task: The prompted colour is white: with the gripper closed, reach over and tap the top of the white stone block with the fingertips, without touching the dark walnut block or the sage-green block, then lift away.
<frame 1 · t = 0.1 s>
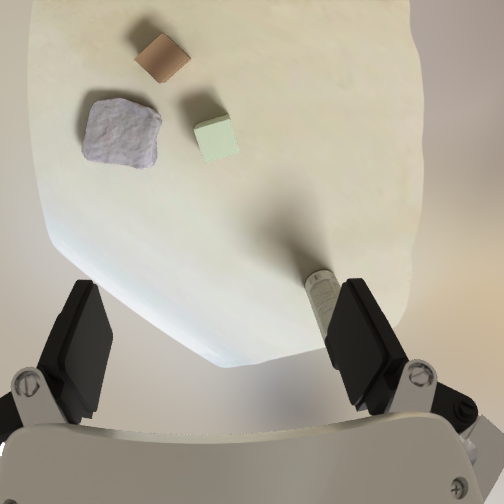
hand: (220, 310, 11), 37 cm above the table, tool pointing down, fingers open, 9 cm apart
sage block: (217, 134, 42), on the table
stone block: (125, 128, 40), on the table
walnut block: (166, 59, 35), on the table
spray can: (319, 281, 61), on the table
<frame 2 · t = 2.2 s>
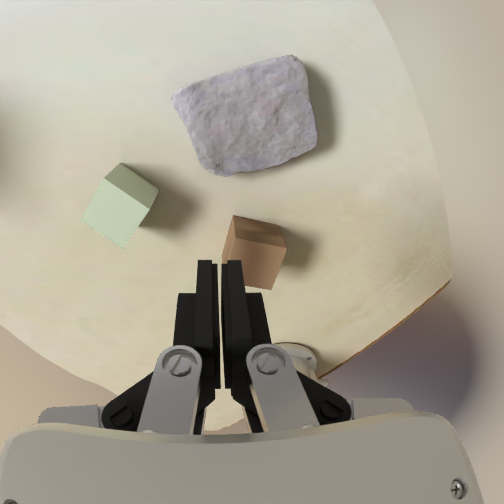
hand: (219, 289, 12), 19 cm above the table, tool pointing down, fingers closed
sage block: (127, 194, 29), on the table
stone block: (249, 117, 27), on the table
walnut block: (249, 240, 33), on the table
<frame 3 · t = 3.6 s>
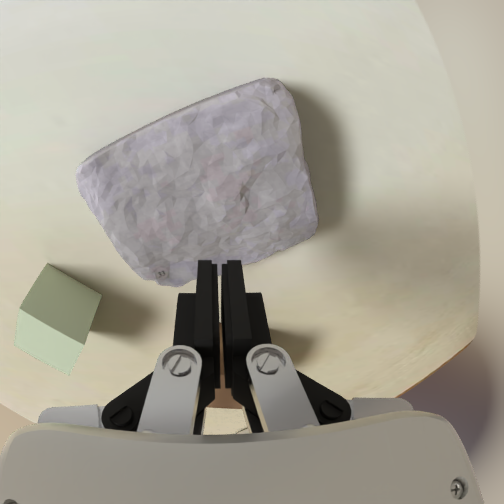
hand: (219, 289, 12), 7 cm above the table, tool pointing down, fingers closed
sage block: (66, 298, 21), on the table
stone block: (207, 184, 18), on the table
walnut block: (228, 343, 25), on the table
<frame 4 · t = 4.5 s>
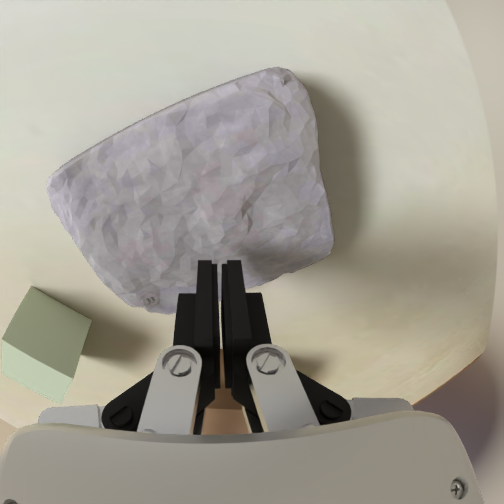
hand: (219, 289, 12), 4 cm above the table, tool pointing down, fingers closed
sage block: (54, 322, 18), on the table
stone block: (202, 194, 15), on the table
walnut block: (230, 368, 22), on the table
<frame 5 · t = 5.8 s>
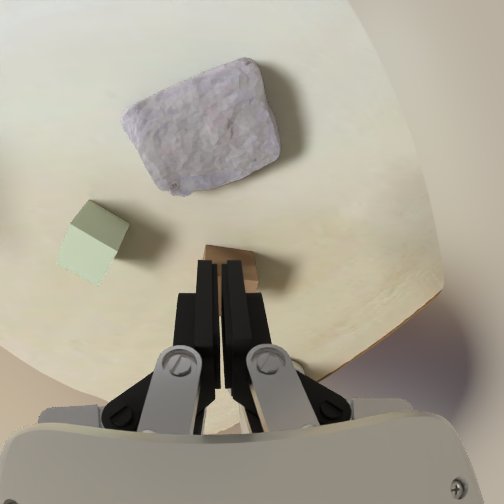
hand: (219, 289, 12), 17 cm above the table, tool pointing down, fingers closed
sage block: (100, 229, 28), on the table
stone block: (207, 128, 25), on the table
walnut block: (225, 266, 33), on the table
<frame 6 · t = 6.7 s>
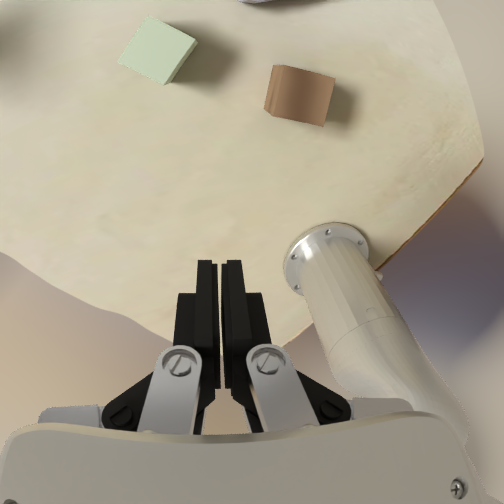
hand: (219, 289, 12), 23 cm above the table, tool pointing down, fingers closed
sage block: (163, 52, 24), on the table
walnut block: (291, 91, 29), on the table
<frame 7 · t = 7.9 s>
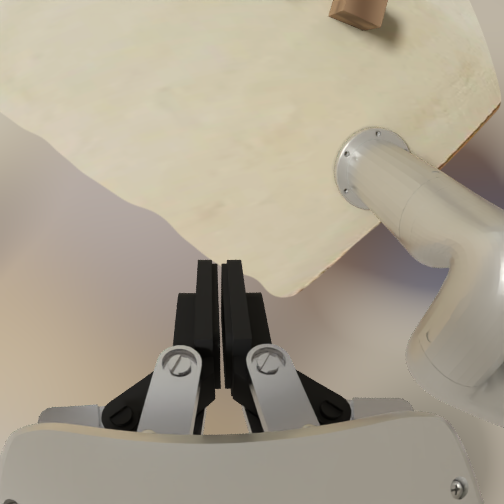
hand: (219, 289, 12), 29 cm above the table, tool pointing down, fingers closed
walnut block: (350, 8, 27), on the table
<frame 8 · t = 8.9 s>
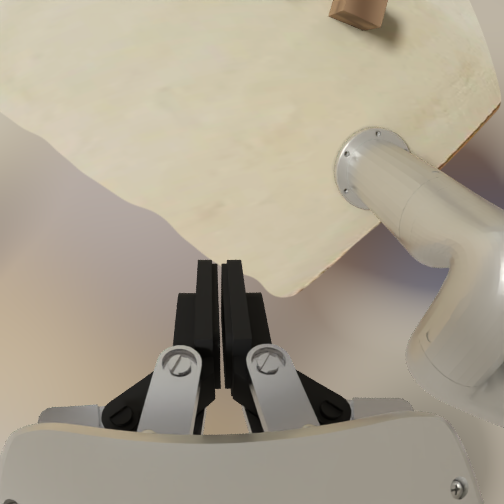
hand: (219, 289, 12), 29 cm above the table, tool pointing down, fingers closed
walnut block: (350, 8, 27), on the table
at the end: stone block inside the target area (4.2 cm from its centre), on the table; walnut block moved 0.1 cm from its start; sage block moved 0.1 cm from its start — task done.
